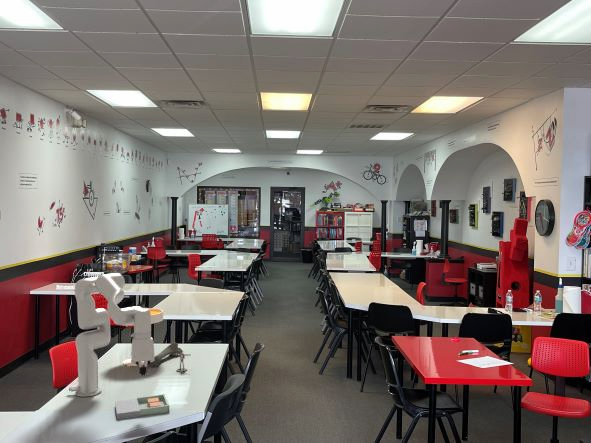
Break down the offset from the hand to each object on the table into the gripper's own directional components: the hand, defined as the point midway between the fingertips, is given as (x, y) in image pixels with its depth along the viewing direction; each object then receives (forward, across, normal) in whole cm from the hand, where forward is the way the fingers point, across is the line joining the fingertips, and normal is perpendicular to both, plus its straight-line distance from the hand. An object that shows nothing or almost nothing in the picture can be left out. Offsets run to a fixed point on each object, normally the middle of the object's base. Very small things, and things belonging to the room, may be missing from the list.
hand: (143, 374), depth 248 cm
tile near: (+14, +5, -1) cm, 15 cm away
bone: (+18, +20, +86) cm, 90 cm away
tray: (+17, +5, +3) cm, 18 cm away
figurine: (+17, +27, +59) cm, 67 cm away
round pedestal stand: (+18, +6, +88) cm, 90 cm away
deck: (+17, -7, +3) cm, 19 cm away
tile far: (+14, +5, +5) cm, 16 cm away
